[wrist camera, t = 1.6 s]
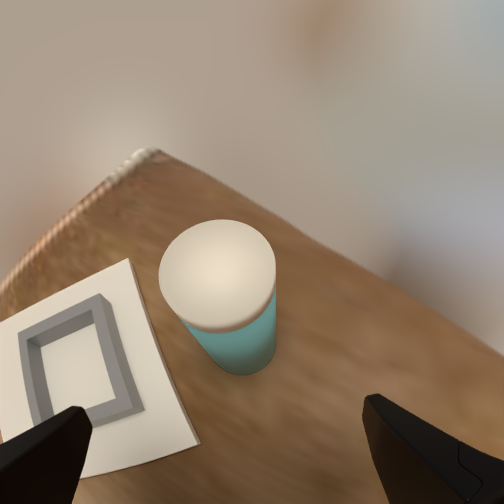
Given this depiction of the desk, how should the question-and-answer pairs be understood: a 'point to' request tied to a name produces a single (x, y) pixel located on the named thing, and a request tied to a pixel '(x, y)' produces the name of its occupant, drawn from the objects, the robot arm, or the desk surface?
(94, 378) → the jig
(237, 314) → the teal cylinder white cap
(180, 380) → the desk surface
